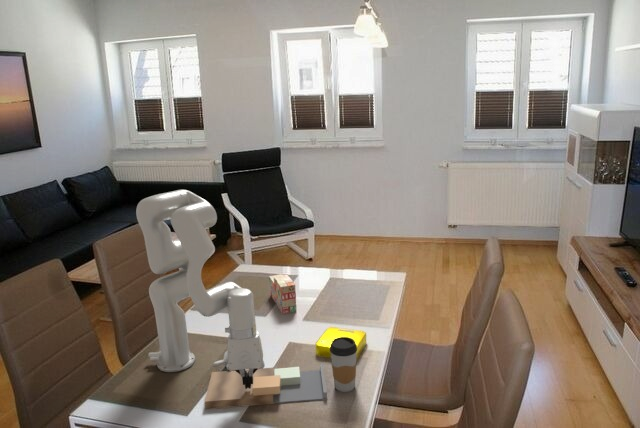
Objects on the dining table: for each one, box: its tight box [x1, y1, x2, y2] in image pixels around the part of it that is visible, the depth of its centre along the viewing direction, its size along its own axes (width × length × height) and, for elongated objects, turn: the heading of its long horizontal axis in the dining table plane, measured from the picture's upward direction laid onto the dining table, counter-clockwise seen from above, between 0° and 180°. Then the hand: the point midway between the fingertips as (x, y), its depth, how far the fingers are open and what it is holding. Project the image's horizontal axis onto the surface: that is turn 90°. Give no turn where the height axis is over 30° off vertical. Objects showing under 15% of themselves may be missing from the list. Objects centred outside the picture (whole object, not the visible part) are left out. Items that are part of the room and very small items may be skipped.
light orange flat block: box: [253, 375, 281, 396], centre depth 157 cm, size 8×6×2 cm
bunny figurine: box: [212, 350, 229, 370], centre depth 176 cm, size 10×5×15 cm
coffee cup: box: [330, 337, 357, 393], centre depth 159 cm, size 8×8×15 cm
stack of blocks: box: [268, 273, 297, 315], centre depth 222 cm, size 21×6×12 cm, turn 19°
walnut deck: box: [204, 367, 275, 410], centre depth 161 cm, size 20×16×2 cm
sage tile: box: [274, 366, 301, 386], centre depth 165 cm, size 8×6×2 cm
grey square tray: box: [272, 363, 328, 405], centre depth 162 cm, size 16×16×2 cm
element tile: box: [315, 326, 367, 360], centre depth 184 cm, size 15×15×5 cm
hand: (248, 386), depth 156 cm, fingers closed
